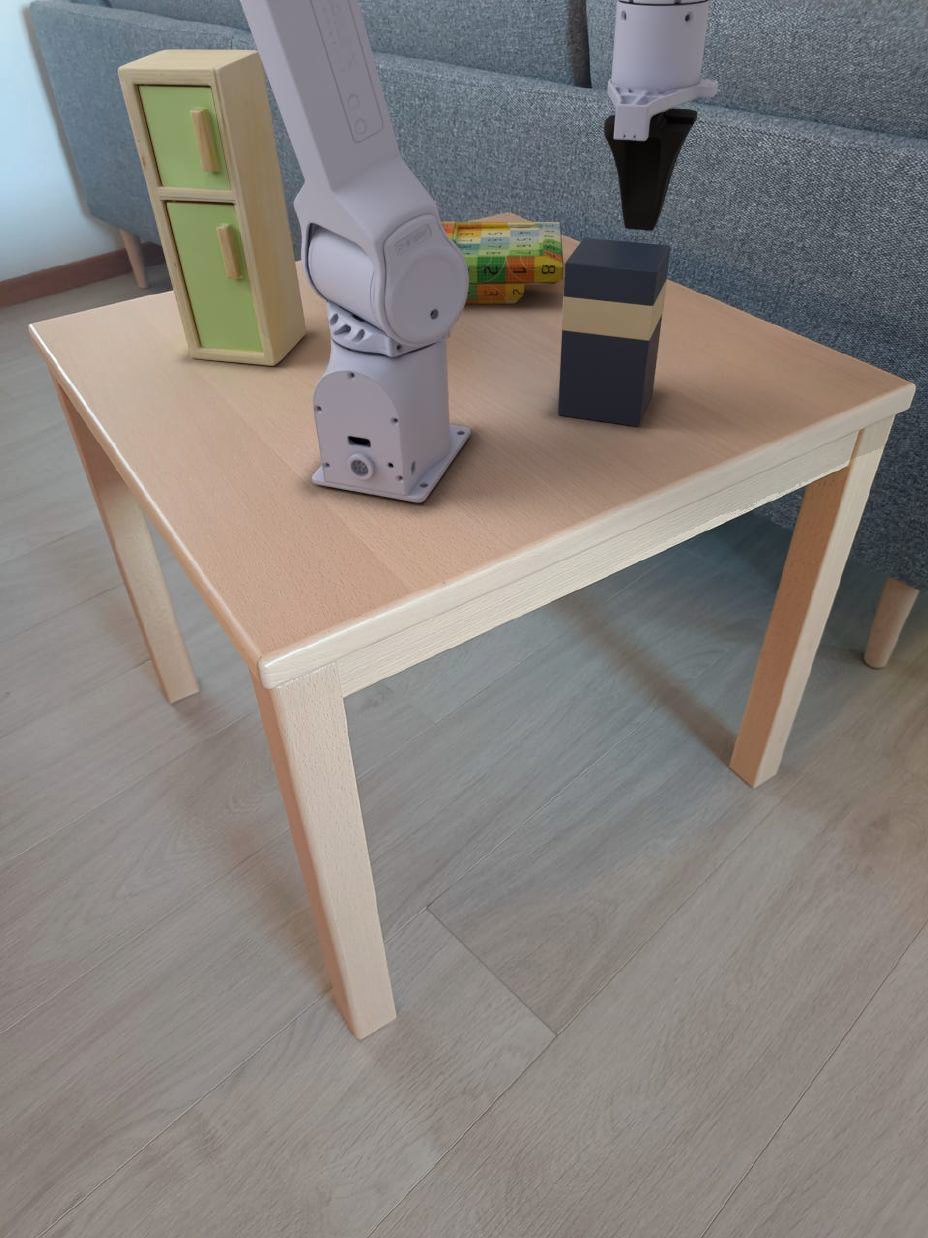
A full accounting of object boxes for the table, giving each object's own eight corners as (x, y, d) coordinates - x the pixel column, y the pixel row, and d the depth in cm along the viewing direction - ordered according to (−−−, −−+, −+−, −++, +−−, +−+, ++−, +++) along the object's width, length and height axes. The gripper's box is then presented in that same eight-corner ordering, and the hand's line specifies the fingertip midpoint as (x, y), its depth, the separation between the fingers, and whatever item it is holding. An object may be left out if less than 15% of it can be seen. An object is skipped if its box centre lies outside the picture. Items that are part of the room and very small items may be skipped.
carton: (639, 427, 63) (657, 271, 56) (557, 415, 65) (564, 262, 58) (652, 395, 67) (671, 244, 60) (574, 384, 69) (583, 236, 61)
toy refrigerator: (182, 362, 73) (109, 66, 59) (224, 326, 79) (165, 47, 65) (271, 372, 72) (216, 69, 58) (307, 334, 77) (265, 49, 63)
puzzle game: (353, 214, 86) (560, 212, 85) (358, 263, 89) (558, 262, 88) (333, 257, 78) (564, 255, 76) (339, 310, 81) (561, 309, 79)
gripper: (711, 18, 49) (679, 267, 58) (743, -16, 59) (711, 200, 68) (587, 15, 51) (574, 256, 60) (638, -17, 61) (620, 194, 70)
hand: (640, 226), depth 64 cm, fingers closed
